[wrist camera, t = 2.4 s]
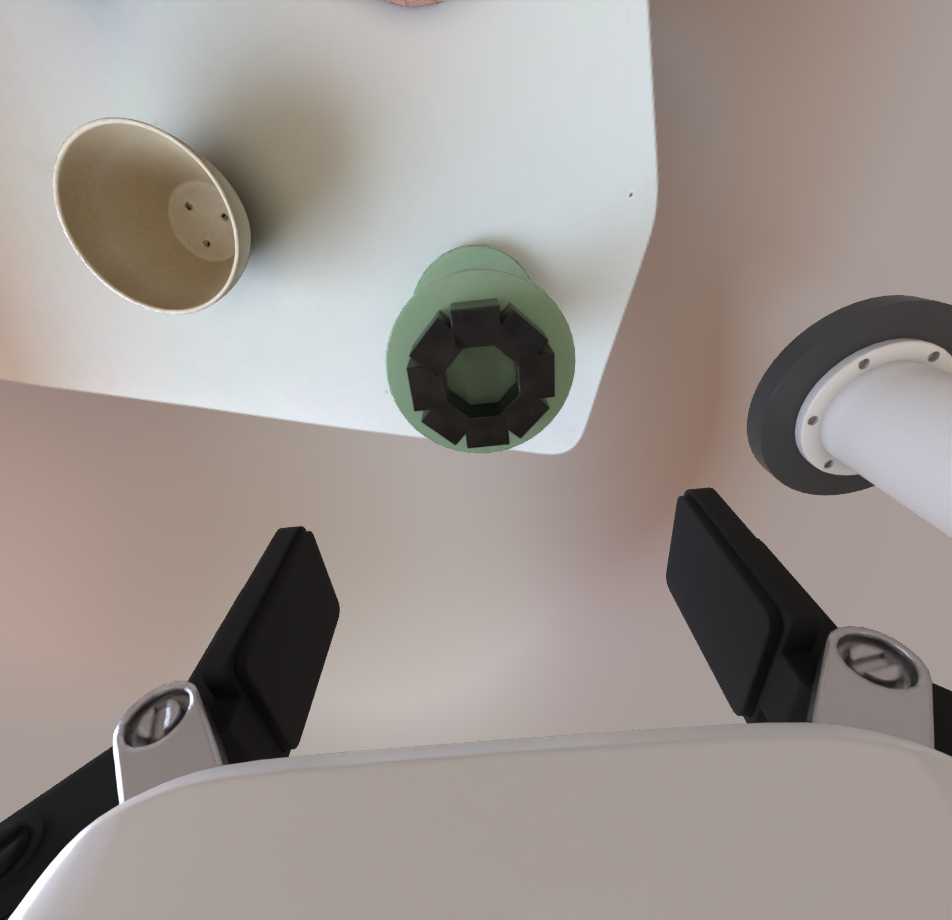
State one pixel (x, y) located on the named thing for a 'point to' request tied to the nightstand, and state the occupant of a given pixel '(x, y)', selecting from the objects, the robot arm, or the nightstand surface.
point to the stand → (485, 367)
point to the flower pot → (150, 215)
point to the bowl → (413, 2)
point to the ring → (478, 329)
